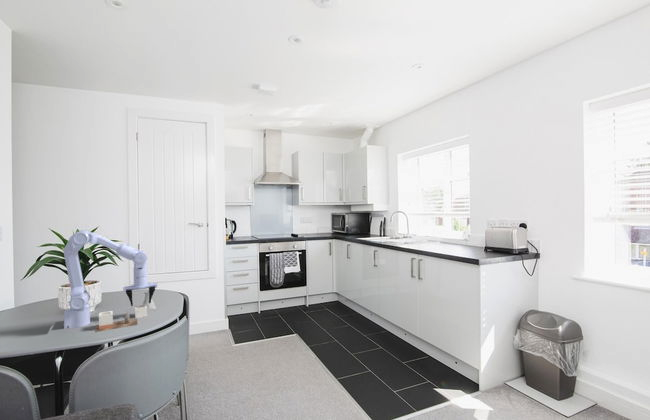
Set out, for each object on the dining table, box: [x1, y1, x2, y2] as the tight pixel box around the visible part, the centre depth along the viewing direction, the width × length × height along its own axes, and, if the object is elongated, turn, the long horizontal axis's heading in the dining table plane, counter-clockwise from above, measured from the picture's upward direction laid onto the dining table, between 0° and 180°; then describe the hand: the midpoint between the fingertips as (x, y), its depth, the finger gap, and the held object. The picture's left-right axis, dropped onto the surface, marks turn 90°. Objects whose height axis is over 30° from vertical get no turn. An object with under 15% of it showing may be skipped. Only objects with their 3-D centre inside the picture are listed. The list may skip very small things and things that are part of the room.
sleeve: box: [134, 304, 148, 319], centre depth 160 cm, size 5×5×6 cm
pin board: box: [94, 313, 138, 333], centre depth 148 cm, size 16×10×6 cm, turn 122°
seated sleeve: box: [98, 310, 114, 330], centre depth 146 cm, size 5×5×6 cm
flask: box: [142, 290, 157, 311], centre depth 172 cm, size 7×7×10 cm
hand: (140, 303), depth 160 cm, fingers open, 7 cm apart
